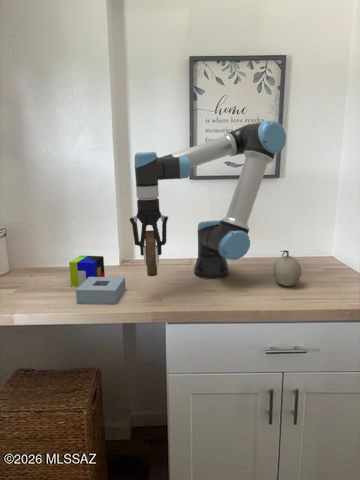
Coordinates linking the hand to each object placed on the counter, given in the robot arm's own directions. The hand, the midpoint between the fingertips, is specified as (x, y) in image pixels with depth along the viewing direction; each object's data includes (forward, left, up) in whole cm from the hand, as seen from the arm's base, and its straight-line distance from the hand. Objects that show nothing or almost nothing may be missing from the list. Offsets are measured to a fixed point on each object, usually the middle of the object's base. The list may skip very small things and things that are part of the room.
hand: (151, 263), depth 125 cm
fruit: (-50, -14, -12) cm, 54 cm away
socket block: (+19, +1, -12) cm, 22 cm away
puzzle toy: (+29, -13, -12) cm, 34 cm away
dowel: (0, 0, -4) cm, 4 cm away
